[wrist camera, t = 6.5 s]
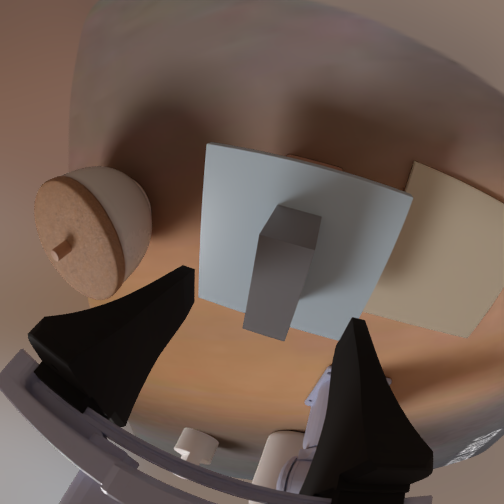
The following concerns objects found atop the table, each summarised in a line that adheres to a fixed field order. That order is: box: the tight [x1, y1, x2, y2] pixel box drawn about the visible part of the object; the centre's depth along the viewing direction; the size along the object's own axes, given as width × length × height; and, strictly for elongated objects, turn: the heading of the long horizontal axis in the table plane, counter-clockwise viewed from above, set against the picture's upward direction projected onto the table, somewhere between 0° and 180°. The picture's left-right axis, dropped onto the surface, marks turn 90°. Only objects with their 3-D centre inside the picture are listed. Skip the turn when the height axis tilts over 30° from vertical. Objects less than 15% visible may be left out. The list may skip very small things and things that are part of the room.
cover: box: [199, 142, 413, 341], centre depth 15 cm, size 11×11×4 cm
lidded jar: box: [34, 166, 152, 300], centre depth 21 cm, size 11×11×9 cm
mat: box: [362, 161, 504, 338], centre depth 18 cm, size 13×13×1 cm
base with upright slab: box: [173, 428, 219, 479], centre depth 49 cm, size 9×9×12 cm
